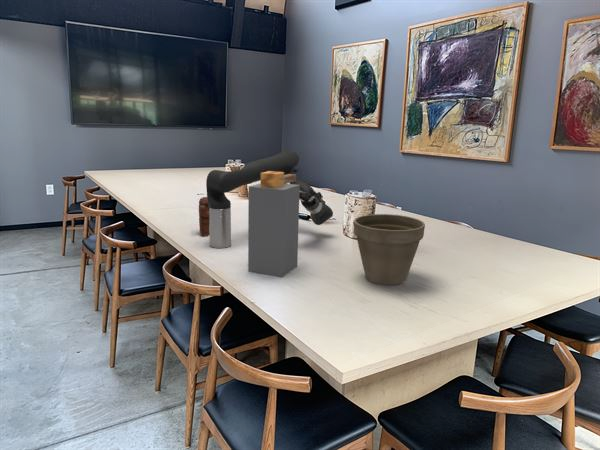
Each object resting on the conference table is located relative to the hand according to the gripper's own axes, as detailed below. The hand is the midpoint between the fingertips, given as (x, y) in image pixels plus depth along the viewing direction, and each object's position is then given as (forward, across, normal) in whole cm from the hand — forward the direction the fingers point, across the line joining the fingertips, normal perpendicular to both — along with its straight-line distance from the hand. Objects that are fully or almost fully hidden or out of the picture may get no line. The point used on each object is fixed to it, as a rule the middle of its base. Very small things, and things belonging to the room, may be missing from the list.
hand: (300, 189), depth 194 cm
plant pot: (0, +41, +32) cm, 52 cm away
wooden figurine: (-20, -52, +20) cm, 59 cm away
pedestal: (+8, 0, +36) cm, 37 cm away
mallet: (+19, 0, +6) cm, 20 cm away
